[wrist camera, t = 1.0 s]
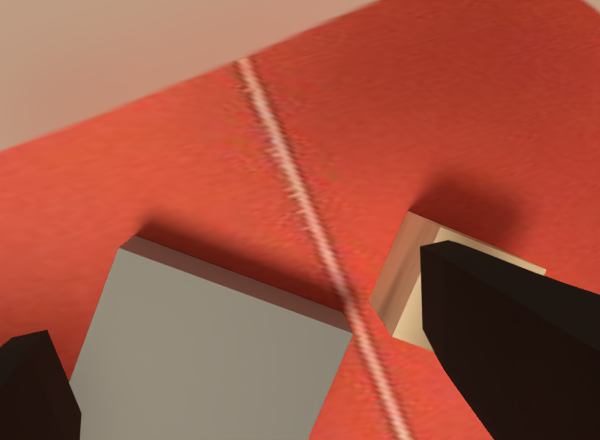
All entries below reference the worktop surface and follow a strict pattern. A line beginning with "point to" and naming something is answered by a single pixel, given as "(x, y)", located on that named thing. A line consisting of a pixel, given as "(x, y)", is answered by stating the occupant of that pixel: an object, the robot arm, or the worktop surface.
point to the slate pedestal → (202, 353)
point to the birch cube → (419, 275)
